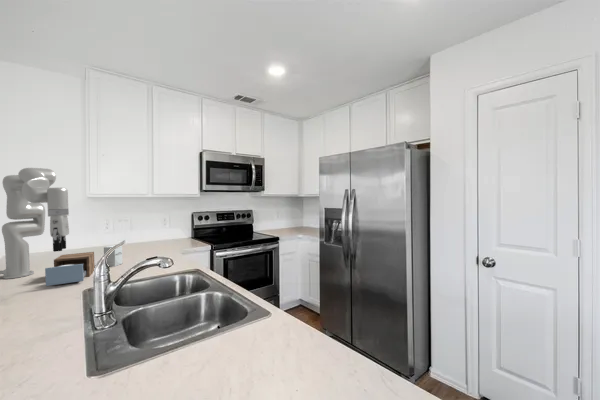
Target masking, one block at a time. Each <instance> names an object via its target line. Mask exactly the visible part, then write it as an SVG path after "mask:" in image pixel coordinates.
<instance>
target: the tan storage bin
mask: <svg viewBox="0 0 600 400" xmlns="http://www.w3.org/2000/svg"><path fill="white" fill-rule="evenodd" d="M69 264H74V265H77V264H83V271H85V270H86V272H87V274H86V276H85V277H84V278H89V277H90V276H91V275H92V274H93V273H94V272H95V271H94V268H95V252H94V251H89V252H79V253H70V254H68V253H67V254H61V255H59V256H58V257H56V258H54V259H53V267H59V266H62V265H69ZM93 271H94V272H93Z"/></svg>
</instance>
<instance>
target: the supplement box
mask: <svg viewBox="0 0 600 400" xmlns="http://www.w3.org/2000/svg"><path fill="white" fill-rule="evenodd" d="M115 245H116V244H115ZM115 245H107V246H105V247H103V255H104V254H105V253H106V252H107V251H108V250H109V249H110V248H112V247H113V246H115ZM107 264H108V265H109V266H110V267H112V268H114V267H117V266H121V265H122V264H123V245H122V246H120V247H118V248H116V249H115V250H114V251H113V252H112V253H111V254H110V255H109V256H108V258H107Z"/></svg>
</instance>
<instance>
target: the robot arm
mask: <svg viewBox="0 0 600 400" xmlns="http://www.w3.org/2000/svg"><path fill="white" fill-rule="evenodd" d="M56 181H57V175H56V172H54V170H52V169H50V168H41V167H40V168H38V167H25V168H21V169H20V170H19V171H18V174H10V175H6V176H5V177H3V179H2V187H3V188H2V189H4V192H5V194H6V206H5V207H6V209H5V210H6V218H7V219H9V220H12V221H9V222H5V223H4V224H3V225H2V226H1V233H2V237H3V242H4V251H5V252H4V253H5V269H3V270H0V275H2V276H1V278H2V279H4V280H6V279H7V280H8V279H9V280H10V279H17V278H24V277H29V276H31V275H34V273H35V272H34V270H31V268H30V267H31V266H30V264H31V263H30V244H29V242H28V241H26V240H25V239H23V238H29V237H35V236H36V237H37V236H40V235H43V234H44V232H45V227H46V226H45V224H46V208H45V206H44V203H45V204H47V217H50V218H49V233H50V237H52V251H53V252H62V251H63V250H65V249H67V238H66V236H68V235H70V228H69V220H68V219H69V218H68V216H70V215H69V214H70V213H69V212H70V211H69V192H68V191H69V190H68V189H67V188H66V187H51V186H52V185H54V184H55V182H56ZM13 220H17V221H13Z"/></svg>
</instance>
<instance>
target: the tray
mask: <svg viewBox="0 0 600 400" xmlns="http://www.w3.org/2000/svg"><path fill="white" fill-rule="evenodd" d="M44 271H45V272H44V274H45V286H46V287H48V286H55V285H62V284H63V285H64V284H70V283H71V284H72V283H76V282H83V281H84V278H86V277H85V276H86V274H87V272H86V270H85V271H83V264H77V265H68V266H59V267H54V266H53V267H52V266H51V267H45V269H44Z"/></svg>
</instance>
